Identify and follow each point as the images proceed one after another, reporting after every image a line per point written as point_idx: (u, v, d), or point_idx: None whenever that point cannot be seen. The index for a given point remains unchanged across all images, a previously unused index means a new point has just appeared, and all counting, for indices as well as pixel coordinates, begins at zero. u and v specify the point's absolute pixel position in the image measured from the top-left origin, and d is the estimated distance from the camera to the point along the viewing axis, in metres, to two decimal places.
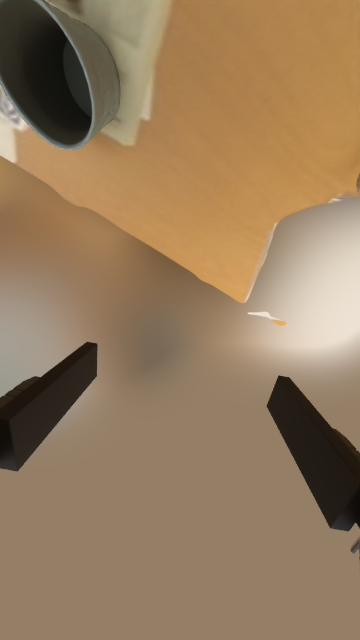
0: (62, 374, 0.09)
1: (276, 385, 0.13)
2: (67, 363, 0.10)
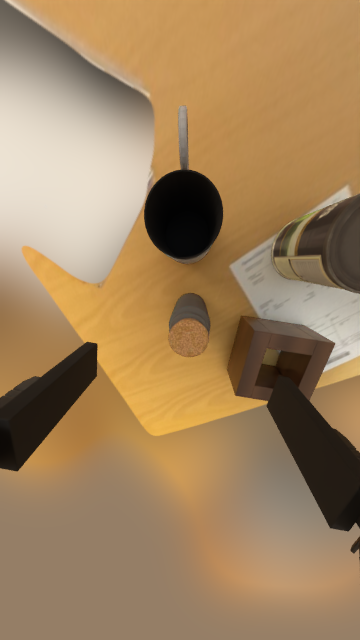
0: (61, 374, 0.09)
1: (276, 385, 0.13)
2: (67, 363, 0.10)
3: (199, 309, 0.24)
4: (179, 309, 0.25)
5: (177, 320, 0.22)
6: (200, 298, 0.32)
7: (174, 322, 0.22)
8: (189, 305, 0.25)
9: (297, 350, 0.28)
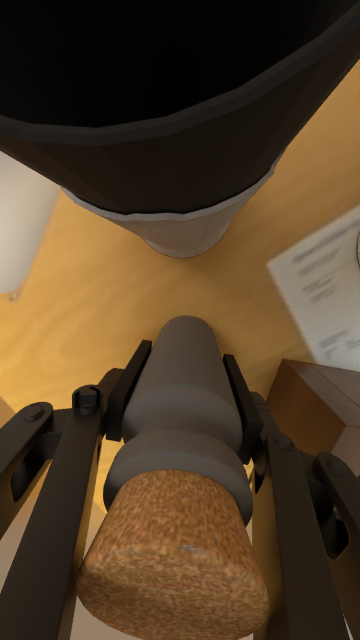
0: (140, 365, 0.11)
1: None
2: (138, 357, 0.12)
3: (212, 396, 0.08)
4: (149, 393, 0.08)
5: (129, 472, 0.06)
6: (207, 329, 0.16)
7: (118, 477, 0.06)
8: (181, 379, 0.08)
9: None
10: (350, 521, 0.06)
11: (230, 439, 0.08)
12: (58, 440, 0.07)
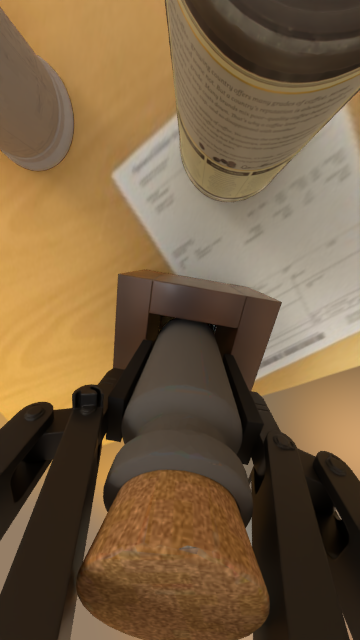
0: (140, 365, 0.11)
1: None
2: (138, 357, 0.12)
3: (212, 396, 0.08)
4: (149, 393, 0.08)
5: (129, 472, 0.06)
6: (207, 330, 0.16)
7: (118, 477, 0.06)
8: (181, 379, 0.08)
9: (208, 318, 0.14)
10: (350, 521, 0.06)
11: (230, 439, 0.08)
12: (58, 440, 0.07)
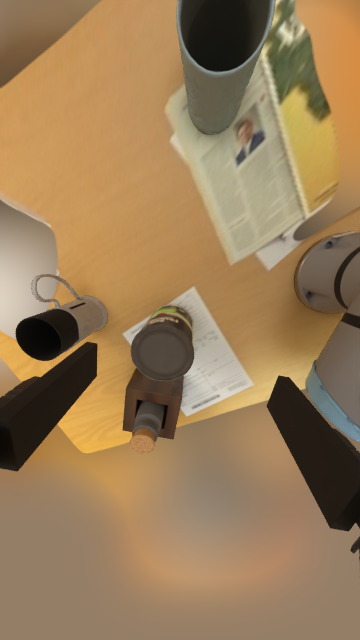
0: (61, 374, 0.09)
1: (276, 385, 0.13)
2: (67, 363, 0.10)
3: (153, 415, 0.38)
4: (140, 415, 0.38)
5: (136, 429, 0.36)
6: None
7: (135, 430, 0.36)
8: (147, 412, 0.38)
9: (157, 401, 0.40)
10: None
11: (157, 424, 0.38)
12: None
